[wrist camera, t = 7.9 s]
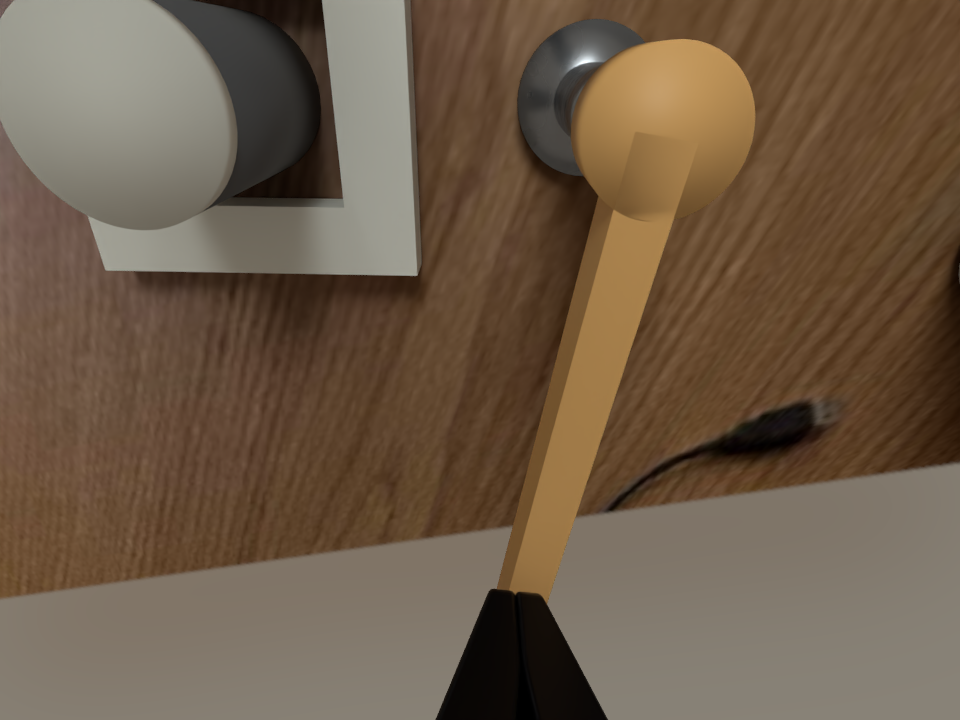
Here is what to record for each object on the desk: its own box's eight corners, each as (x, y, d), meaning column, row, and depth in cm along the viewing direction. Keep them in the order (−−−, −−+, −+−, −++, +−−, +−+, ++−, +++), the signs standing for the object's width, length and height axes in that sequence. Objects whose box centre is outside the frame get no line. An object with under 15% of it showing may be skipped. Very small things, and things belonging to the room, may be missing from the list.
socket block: (11, -123, 14) (-28, -138, 13) (405, -122, 14) (398, -137, 13) (127, 258, 19) (105, 270, 18) (421, 263, 19) (417, 275, 18)
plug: (151, 8, 15) (-53, -23, 10) (309, 9, 15) (198, -21, 10) (190, 173, 17) (40, 229, 12) (329, 175, 17) (246, 231, 12)
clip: (466, 594, 16) (463, 640, 14) (591, 29, 9) (606, 22, 8) (556, 606, 16) (562, 652, 14) (745, 57, 9) (783, 57, 8)
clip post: (520, 20, 15) (536, -9, 9) (666, 21, 15) (786, -8, 9) (514, 171, 17) (525, 235, 11) (645, 173, 17) (730, 238, 11)
